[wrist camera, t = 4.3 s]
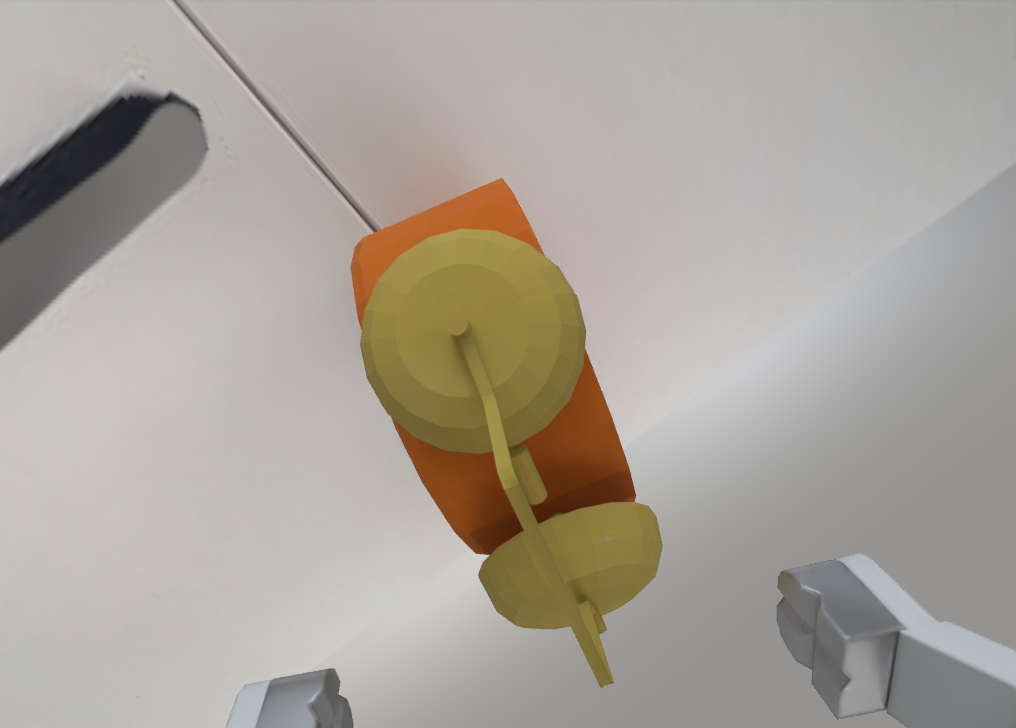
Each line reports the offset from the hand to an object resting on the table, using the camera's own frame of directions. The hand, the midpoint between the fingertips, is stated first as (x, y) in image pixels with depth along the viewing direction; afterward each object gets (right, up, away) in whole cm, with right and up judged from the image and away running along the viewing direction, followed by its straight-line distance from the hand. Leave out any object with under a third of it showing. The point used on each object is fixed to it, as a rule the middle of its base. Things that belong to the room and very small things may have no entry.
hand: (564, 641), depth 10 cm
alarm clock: (-2, +8, +20) cm, 21 cm away
